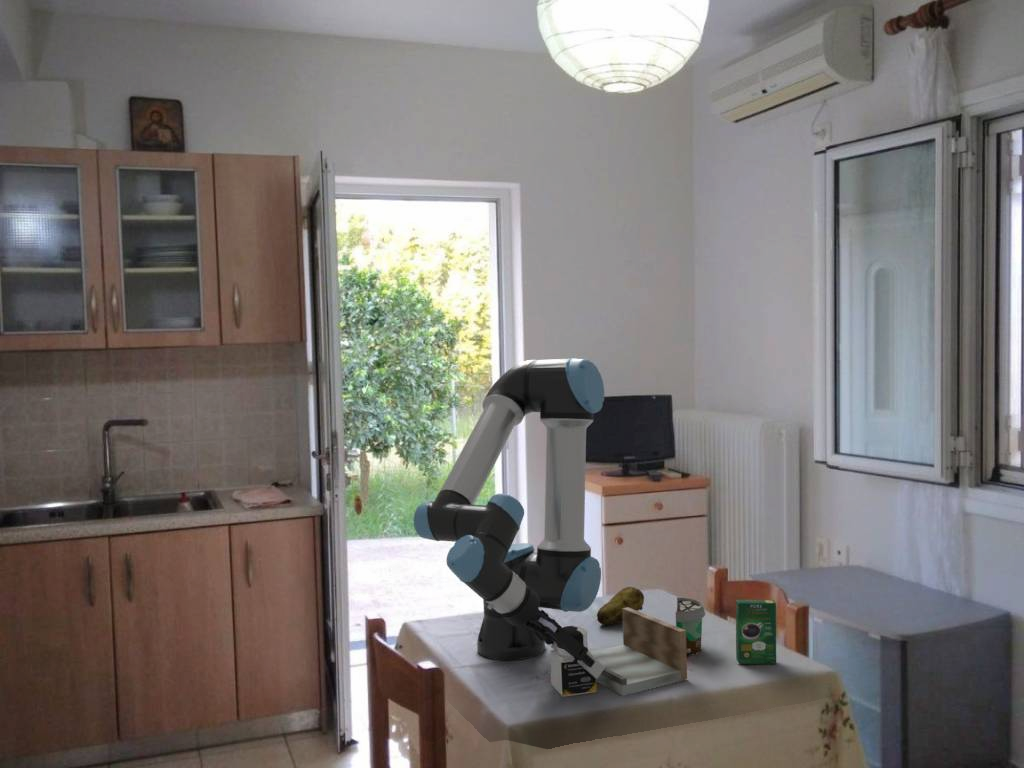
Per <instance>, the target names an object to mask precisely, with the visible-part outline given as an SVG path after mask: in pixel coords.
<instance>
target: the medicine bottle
mask: <svg viewBox="0 0 1024 768" xmlns="http://www.w3.org/2000/svg"><path fill="white" fill-rule="evenodd" d="M562 628H563V629H565V630H566V631H567V632H568V633H569V634H570V635H572V636H573V637H574V638H575V639H576V640H577V641H579V642H580V643H581V644H582V645H583V646H585V647H586V648H587V649H588V652H589V653H590V652H591V651H590V650H589V647H588V646H589V644H588V643H589V642H588V631H587V630H586V629H585V628H584V627H582V626H576V625H567V626H563V627H562ZM590 654H591V653H590ZM591 655H592V656H593V657H594V658H595V656H594V655H593V654H591ZM549 656H550V660H549V661H550V680H551V681H550V683H551V686H552V687H553V688H554V689H555V690H556V691H557V693H558V694H559V695H560V696H561V697H562V698H566V697H567V698H568V697H574V696H578V695H579V696H580V695H587V694H592V693H593V694H594V693H597V691H598V689H597V687H598V686H597V682H596V678H594V677H593V676H592V675H591V674H590V673H589V672H588V671H587V670H586V669H584V668H583V667H582V666H581V665H580V664H579V663H578V662H577V663H574V662H573V660H574V657H573V656H572V655H570V654H569V653H568V652H567V651H565V650H564V649H563V648H562V647H560V646H559V645H558V644H557V650H554V649H551V650H550V651H549ZM595 659H596V658H595Z"/></svg>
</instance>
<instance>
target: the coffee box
mask: <svg viewBox="0 0 1024 768" xmlns="http://www.w3.org/2000/svg"><path fill="white" fill-rule="evenodd" d="M735 606H736V607H735V610H736V611H735V645H736V646H735V656H736V662H737V661H738V663H739V664H738V663H737V664H738V665H746V664H749V665H777V602H775V601H774V600H773V599H736V600H735Z"/></svg>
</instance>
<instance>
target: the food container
mask: <svg viewBox="0 0 1024 768" xmlns="http://www.w3.org/2000/svg"><path fill="white" fill-rule="evenodd" d="M676 603H677V606H676V611H675V626H676V627H679V628H681V629H684V630H686V653H687V655H691V656H693V655H692V654H695V655H697V654H696V653H698V652H699V653H700V652H701V651H702V632H703V630H702V629H703V618H704V617H705V616H706V611H705V607H704V606H703V603H702V602H701V601H700V600H697V599H694V598H688V597H679V596H678V597H676ZM699 653H698V654H699Z"/></svg>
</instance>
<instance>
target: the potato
mask: <svg viewBox="0 0 1024 768" xmlns="http://www.w3.org/2000/svg"><path fill="white" fill-rule="evenodd" d="M644 603H645V595H644V593H643V592H642V591H641V590H640V589H639V588H636V587H632V586H627V587H623V588H622V589H621V590H619V591H617V593H615V594H614V596H613V597H611V599H610V600H609V601H608V602H606V603H605V604H603V605H602V606H601V607H600V608H599V609H598V611H597V613H596V617H597V619H596V620H597V622H598V623H599V624H601V625H603V626H610V625H613V624H617V623H621V622H623V616H622V608H627V607H629V608H631V609H634V610H636V611H642V610H643V609H644V608H643V606H644Z"/></svg>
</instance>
